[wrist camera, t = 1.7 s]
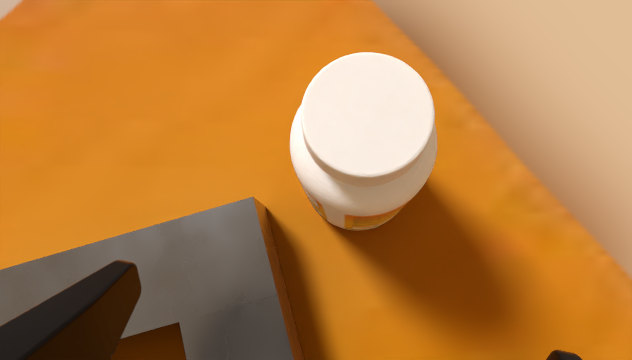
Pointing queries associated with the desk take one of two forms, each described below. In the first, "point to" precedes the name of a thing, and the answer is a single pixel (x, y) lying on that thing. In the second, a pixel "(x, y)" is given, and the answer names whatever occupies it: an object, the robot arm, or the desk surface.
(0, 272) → the socket block
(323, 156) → the supplement bottle
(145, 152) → the desk surface
